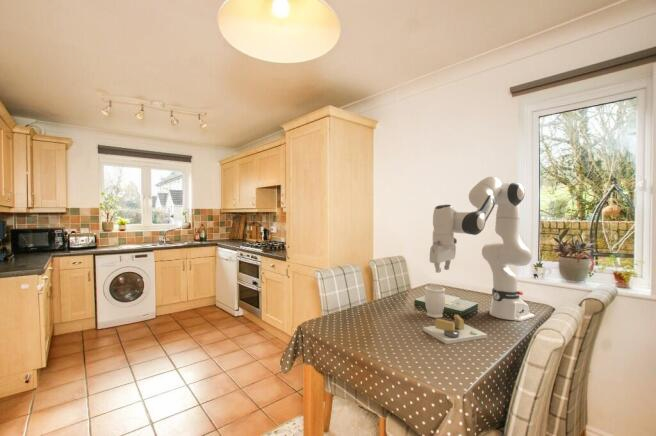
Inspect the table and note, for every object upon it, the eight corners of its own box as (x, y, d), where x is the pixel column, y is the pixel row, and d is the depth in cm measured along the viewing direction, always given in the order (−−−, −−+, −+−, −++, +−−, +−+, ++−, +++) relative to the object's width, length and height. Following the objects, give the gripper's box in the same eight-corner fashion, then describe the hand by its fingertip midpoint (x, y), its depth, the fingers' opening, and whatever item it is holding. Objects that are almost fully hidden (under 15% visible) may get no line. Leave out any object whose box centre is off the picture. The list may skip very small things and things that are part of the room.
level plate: (460, 325, 150) (460, 320, 150) (487, 337, 135) (487, 332, 135) (423, 330, 143) (423, 325, 143) (446, 344, 128) (446, 339, 128)
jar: (446, 319, 158) (446, 290, 158) (425, 318, 160) (426, 289, 160) (443, 313, 169) (443, 286, 168) (423, 311, 171) (423, 285, 170)
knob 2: (448, 324, 147) (448, 313, 146) (461, 324, 146) (461, 313, 146) (454, 332, 137) (454, 320, 136) (468, 333, 136) (468, 320, 136)
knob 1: (460, 334, 134) (461, 322, 134) (456, 338, 129) (456, 326, 129) (438, 328, 141) (438, 317, 141) (433, 332, 136) (433, 320, 136)
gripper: (440, 242, 128) (439, 275, 128) (458, 239, 143) (457, 269, 143) (425, 241, 132) (425, 273, 132) (445, 238, 147) (444, 267, 147)
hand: (442, 270), depth 138 cm, fingers open, 8 cm apart
